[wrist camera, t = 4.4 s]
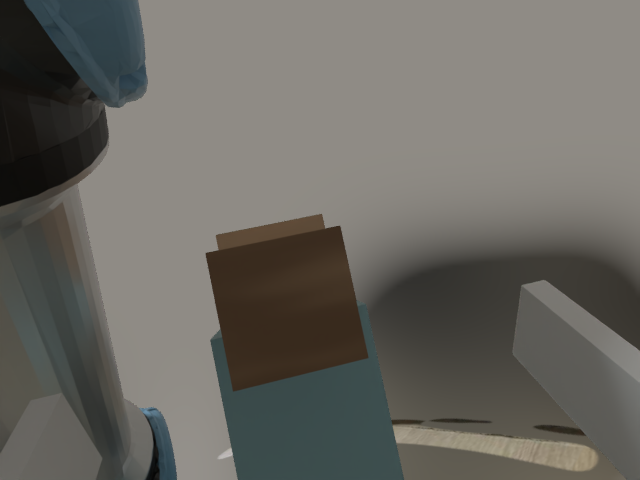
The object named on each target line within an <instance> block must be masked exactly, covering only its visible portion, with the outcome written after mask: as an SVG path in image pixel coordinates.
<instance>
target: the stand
mask: <svg viewBox="0 0 640 480" xmlns="http://www.w3.org/2000/svg"><path fill="white" fill-rule="evenodd" d="M356 301H357V300H356ZM357 306H358V311H359V315H360V320H361V325H362V329H363V334H364V339H365V343H366V348H367V352H368V357H369V358H367V359H363V360H359V361H355V362H351V363H347V364H343V365H339V366H335V367H331V368H327V369H323V370H319V371H315V372H311V373H307V374H303V375H299V376H295V377H291V378H286V379H282V380H278V381H274V382H270V383H266V384H262V385H258V386H254V387H250V388H246V389H242V390H238V391H234V392H233V389H232V384H231V379H230V374H229V369H228V364H227V359H226V354H225V349H224V344H223V339H222V334H221V329H220V330H219V331H218V332H217V334H215V335H214V337H213V338H212V339H211V346H212V351H213V356H214V360H215V366H216V371H217V376H218V381H219V386H220V391H221V397H222V402H223V406H224V411H225V417H226V421H227V427H228V432H229V436H230V442H231V447H232V452H233V457H234V462H235V467H236V472H237V477H238V480H404V477H403V473H402V468H401V463H400V459H399V454H398V450H397V445H396V440H395V436H394V431H393V427H392V422H391V418H390V413H389V408H388V403H387V399H386V394H385V390H384V385H383V380H382V376H381V371H380V367H379V363H378V357H377V353H376V348H375V343H374V339H373V334H372V330H371V325H370V320H369V316H368V312H367V307H366V304H364V303H362V302H360V301H357Z"/></svg>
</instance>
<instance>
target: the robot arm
mask: <svg viewBox="0 0 640 480" xmlns="http://www.w3.org/2000/svg"><path fill="white" fill-rule="evenodd" d="M147 84H148V79H147V75H146V67H145V47H144V34H143V28H142V21H141V15H140V10H139V3H138V0H0V480H177V474H176V465H175V459H174V453H173V448H172V443H171V439H170V435H169V431H168V427H167V425H166V422H165V419H164V417H163V415H162V414H161V412H159V411H158V410H157V409H156V408H152V407H150V408H145V409H143V408H138V407H137V406H136V405H134V404H133V403H131V402H130V401H128V400H126V399H124V397H123V393H122V389H121V383H120V379H119V374H118V370H117V365H116V361H115V356H114V352H113V347H112V342H111V338H110V333H109V328H108V325H107V319H106V315H105V311H104V305H103V301H102V296H101V292H100V287H99V282H98V278H97V273H96V269H95V264H94V259H93V255H92V250H91V246H90V241H89V236H88V232H87V227H86V223H85V218H84V214H83V208H82V204H81V199H80V195H79V190H78V185H77V184H78V183H79V182H80V181H81V180H82V179H84V178H85V177H86V176H88V175H89V174H90V173H91V172H92V171H93V170H94V169H95V168H96V167H97V166H98V165H99V164H100V163H101V161H102V160H103V158H104V157H105V155H106V153H107V150H108V146H109V133H108V126H107V119H106V112H105V105H104V103H105V104H106V105H107V106H108V107H117V108H120V107H122V106H123V105H124V104H125V103H126V102H131V101H136V100H138V99H139V98H141V97H142V96H143V95H144V94H145V92H146V89H147ZM512 354H513V355H514V356H515V357H516V358H517V359H518V361H519V362H520V363H521V364H522V365H523V366H524V367H525V368H526V369H527V371H528V372H529V373H530V374H531V375H532V376H533V377H534V378H535V379H536V380H537V382H538V383H540V385H541V386H542V387H543V388H544V389H545V390H546V391H547V393H548V394H549V395H550V396H551V397H552V398H553V399H554V400H555V401H556V402H557V404H558V405H559V406H560V407H561V408H562V409H563V410H564V411H565V412H566V413H567V415H568V416H569V417H570V418H571V419H572V420H573V421H574V422H575V423H576V424H577V426H578V427H579V428H580V429H581V430H582V431H583V432H584V433H585V434H586V435H587V437H589V439H590V440H591V441H592V442H593V443H594V444H595V445H596V446H597V447H598V448H599V450H600V451H601V452H602V453H603V454H604V455H605V456H606V457H607V458H608V460H609V461H610V462H611V463H612V464H613V465H614V466H615V467H616V468H617V469H618V471H619V472H620V473H621V474H622V475H623V476H624V477H625V478H626V479H627V480H640V351H639V350H638V349H636V348H635V347H634V346H632V345H631V344H630V343H628V342H627V341H626V340H624V339H623V338H622V337H620V336H619V335H618V334H616V333H615V332H614V331H612V330H611V329H610V328H608V327H607V326H606V325H604V324H603V323H602V322H600V321H599V320H598V319H596V318H595V317H593V316H592V315H591V314H590V313H588V312H587V311H586V310H584V309H583V308H582V307H580V306H579V305H577V304H576V303H575V302H574V301H572V300H571V299H570V298H568V297H567V296H566V295H564V294H563V293H561V292H560V291H559V290H558V289H556V288H555V287H553V286H552V285H551V284H549V283H548V282H547V281H545V280H542V281H539V282H534V283H530V284H526V285H522V287H521V294H520V301H519V308H518V315H517V323H516V330H515V337H514V345H513V352H512Z"/></svg>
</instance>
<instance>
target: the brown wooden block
mask: <svg viewBox="0 0 640 480" xmlns="http://www.w3.org/2000/svg"><path fill="white" fill-rule="evenodd" d="M216 239H217V244H218V249H219V250H218V251H213V252H209V253H206V258H207V263H208V268H209V273H210V279H211V283H212V289H213V294H214V299H215V304H216V309H217V314H218V318H219V323H220V329H221V334H222V339H223V344H224V349H225V354H226V359H227V364H228V369H229V374H230V379H231V384H232V389H233V392H234V391H238V390H242V389H246V388H250V387H254V386H258V385H262V384H266V383H270V382H274V381H278V380H282V379H286V378H291V377H295V376H299V375H303V374H307V373H311V372H315V371H319V370H323V369H327V368H331V367H335V366H339V365H343V364H347V363H351V362H355V361H359V360H363V359H367V358H369V357H368V352H367V348H366V343H365V339H364V334H363V329H362V325H361V320H360V315H359V311H358V306H357V301H356V297H355V292H354V288H353V283H352V278H351V274H350V269H349V264H348V260H347V255H346V250H345V246H344V242H343V237H342V232H341V227H340V226H336V227H331V228H326V229H325V226H324V221H323V217H322V214H319V215H314V216H310V217H304V218H299V219H294V220H289V221H284V222H279V223H274V224H269V225H264V226H259V227H254V228H249V229H244V230H239V231H234V232H229V233H224V234H218V235H216Z"/></svg>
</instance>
